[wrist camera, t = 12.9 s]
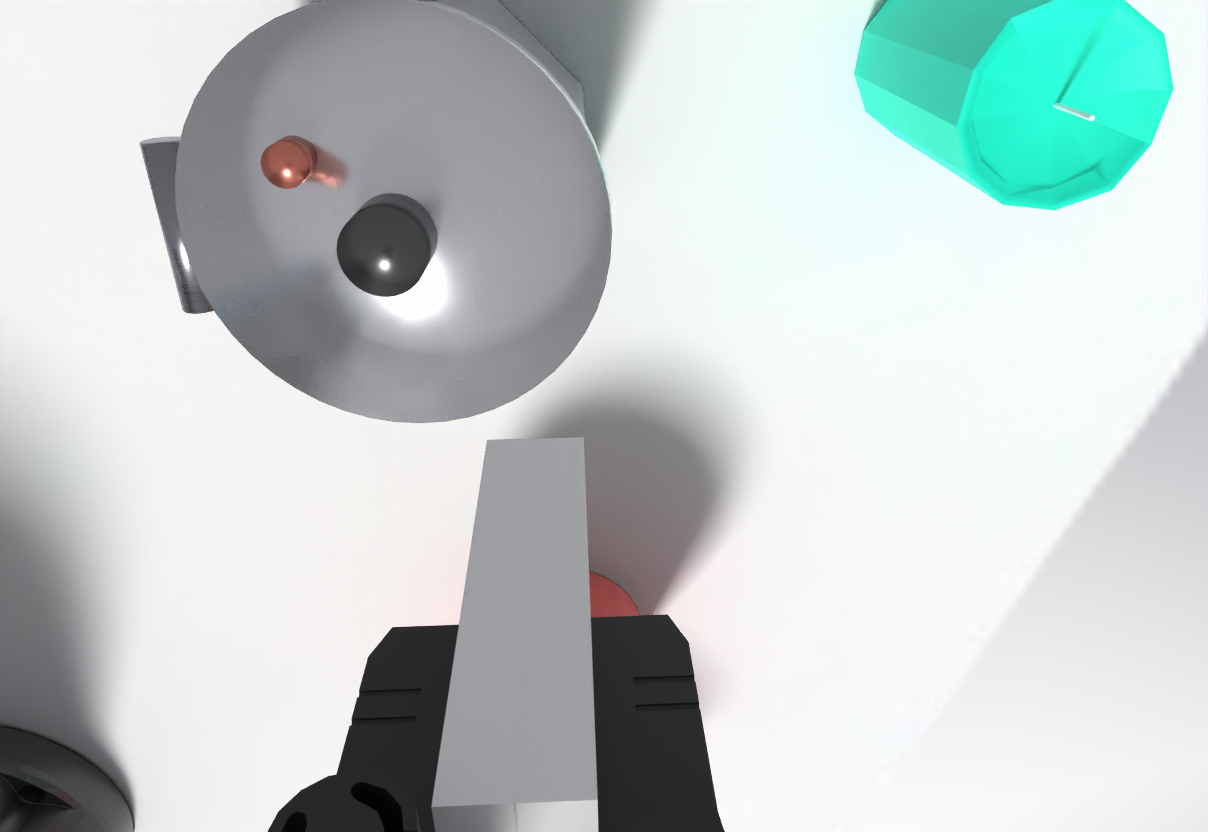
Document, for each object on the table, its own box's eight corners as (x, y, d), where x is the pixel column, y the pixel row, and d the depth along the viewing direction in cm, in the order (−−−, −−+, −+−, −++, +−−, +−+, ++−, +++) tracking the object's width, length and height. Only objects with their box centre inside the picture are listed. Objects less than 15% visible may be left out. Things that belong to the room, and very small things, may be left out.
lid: (218, 402, 30) (175, 453, 27) (115, -5, 24) (47, 6, 21) (613, 400, 30) (613, 451, 27) (609, -11, 24) (609, -2, 21)
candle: (1037, 69, 35) (1241, 131, 24) (904, 170, 36) (1040, 269, 26) (963, -66, 32) (1153, -62, 22) (824, 49, 34) (938, 104, 24)
